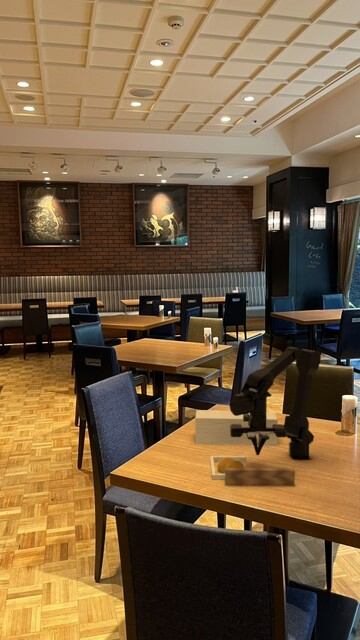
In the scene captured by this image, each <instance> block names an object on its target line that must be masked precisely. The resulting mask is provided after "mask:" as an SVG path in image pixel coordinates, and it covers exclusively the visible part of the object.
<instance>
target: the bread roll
mask: <svg viewBox="0 0 360 640" xmlns="http://www.w3.org/2000/svg"><path fill="white" fill-rule="evenodd" d="M225 468H245V466H244V464H243V462H242V461H235V460H233V459H231V458H224V459H222V460H221V461H218V462H217V469H218V471H219V472H221V474H225Z"/></svg>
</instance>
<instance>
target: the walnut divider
mask: <svg viewBox="0 0 360 640" xmlns="http://www.w3.org/2000/svg"><path fill="white" fill-rule="evenodd" d="M224 474H225V479H224V485H225V486H282V487H283V486H290V487H291V486H294V487H295V479H296V478H295V475H296V471H295V468H291V467H289V468H287V467H285V468H284V467H283V468H280V467H279V468H278V467H277V468H276V467H275V468H273V467H270V468H268V467H266V468H265V467H262V468H261V467H259V468H258V467H254V468H253V467H250V468H249V467H248V468H247V467H244V468H225V473H224Z"/></svg>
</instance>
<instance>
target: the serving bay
mask: <svg viewBox="0 0 360 640" xmlns="http://www.w3.org/2000/svg"><path fill="white" fill-rule="evenodd" d="M224 458H231V459H233V460H235V461H240V462H248V457H247V455H245V456H244V455H237V456H236V455H210V458H209V459H210V461H209V462H210V471H211V479H212V480H225V473H216V472H215V471H216V470H215V462H220V461H221V460H222V459H224Z"/></svg>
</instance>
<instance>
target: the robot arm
mask: <svg viewBox="0 0 360 640" xmlns="http://www.w3.org/2000/svg"><path fill="white" fill-rule="evenodd" d="M294 362H295V366H296V369H297V372H298V373H297V374H298V375H297V376H298V377H297V381H296V387H295V392H294V398H293V405H292V411H291V412H290V413H289V415H285V417H284V423H282V424H280V423H279V424H273V425H272V428H266V412H267V400H268V398H269V397H272V393H270V392H269V390H270V388H271V387H273V385H274V381H275V380H276V378H277V377H278V376H279V375H280V374H282V373H283V372H284V371H285V370H286V369H287V368H288V367H290V365H292V364H293V363H294ZM320 363H321V355H320V353H319V352H318V351H317V350H311V349H310V350H309V349H304V348H302V349H300V348H298V347H292V346H288V347H286V348H285V350H284V351H283V352H281V354H280V355H278V356H277V357H275V358H274V359H273V360H272V361H271V362H270V363H268V364H267V365H266V366H265V367H263V368H260V369H256V370H254V371H253V372H251V373H249V375H248V376H247V379H246V381H245V382H244V384H243V386H242V388H241V390H240V394H239V393H237V394H233V398H232V399H231V400H230V402H229V409H230V410H229V411H231V412H232V414H233V415H235V416H239V415H243V422H248V426H249V427H242V425H241V424H231V425H230V434H231V437H241V436H242V435H243V433H246V435H247V438H248V439H249V440H251V441H252V443H253V445H252V446H253V448H254V452H255V454H256V456H259V455H260V453H261V451H262V449H263V446H265V445H264V443H265V442H266V440H269V439H270V438H269V433H275V435H276V436H277V438H287V439H290V442H288V454H289V456H290V458H291V459H293V460H310V459H311V457H310V445H311V444H312V443H314V440H315V439H314V438H315V435H313V433H312V432H311V431H310V423H309V419H308V416H307V411H308V405H309V398H310V393H311V386H312V382H313V381H312V380H313V376H314V374H315V373H316V372H317V371H318V369H319V367H320ZM249 413H250V415H249ZM256 433H259V439H258V445H257V438H256Z"/></svg>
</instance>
